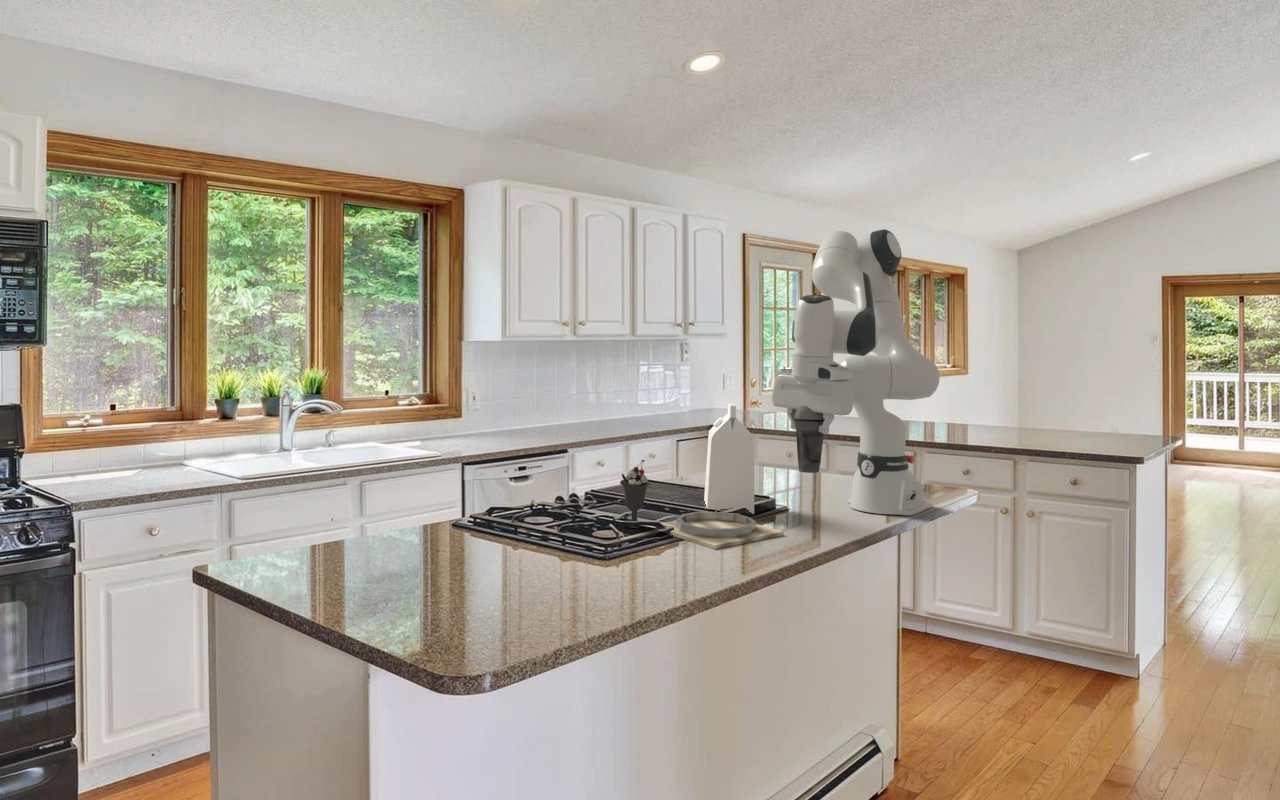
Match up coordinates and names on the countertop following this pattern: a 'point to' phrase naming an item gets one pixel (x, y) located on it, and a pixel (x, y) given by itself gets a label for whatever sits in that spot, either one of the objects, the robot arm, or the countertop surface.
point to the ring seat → (719, 529)
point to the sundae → (634, 490)
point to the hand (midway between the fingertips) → (809, 431)
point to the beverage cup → (808, 439)
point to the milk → (730, 464)
